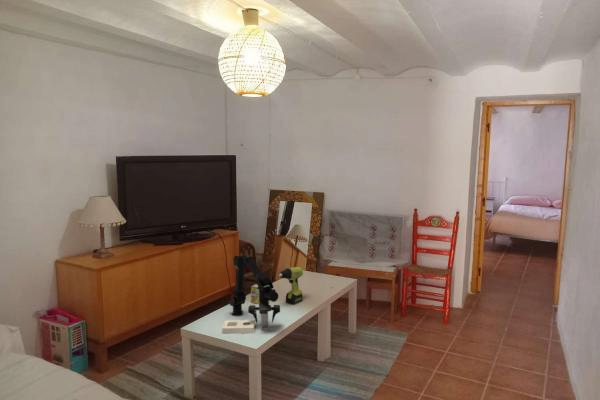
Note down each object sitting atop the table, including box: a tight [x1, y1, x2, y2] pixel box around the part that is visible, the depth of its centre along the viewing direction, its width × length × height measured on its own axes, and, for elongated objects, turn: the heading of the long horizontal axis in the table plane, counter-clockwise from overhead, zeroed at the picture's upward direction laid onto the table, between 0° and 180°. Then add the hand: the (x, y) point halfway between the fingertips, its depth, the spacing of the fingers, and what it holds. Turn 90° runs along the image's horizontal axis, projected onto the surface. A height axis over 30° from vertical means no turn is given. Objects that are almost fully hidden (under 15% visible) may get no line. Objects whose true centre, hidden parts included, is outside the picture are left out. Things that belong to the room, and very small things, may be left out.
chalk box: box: [250, 283, 269, 305], centre depth 303 cm, size 9×9×15 cm
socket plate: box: [221, 319, 256, 334], centre depth 259 cm, size 12×18×3 cm, turn 91°
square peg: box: [260, 312, 269, 329], centre depth 261 cm, size 4×4×8 cm
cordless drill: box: [278, 266, 304, 306], centre depth 297 cm, size 23×7×25 cm, turn 142°
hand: (264, 322), depth 261 cm, fingers open, 9 cm apart
